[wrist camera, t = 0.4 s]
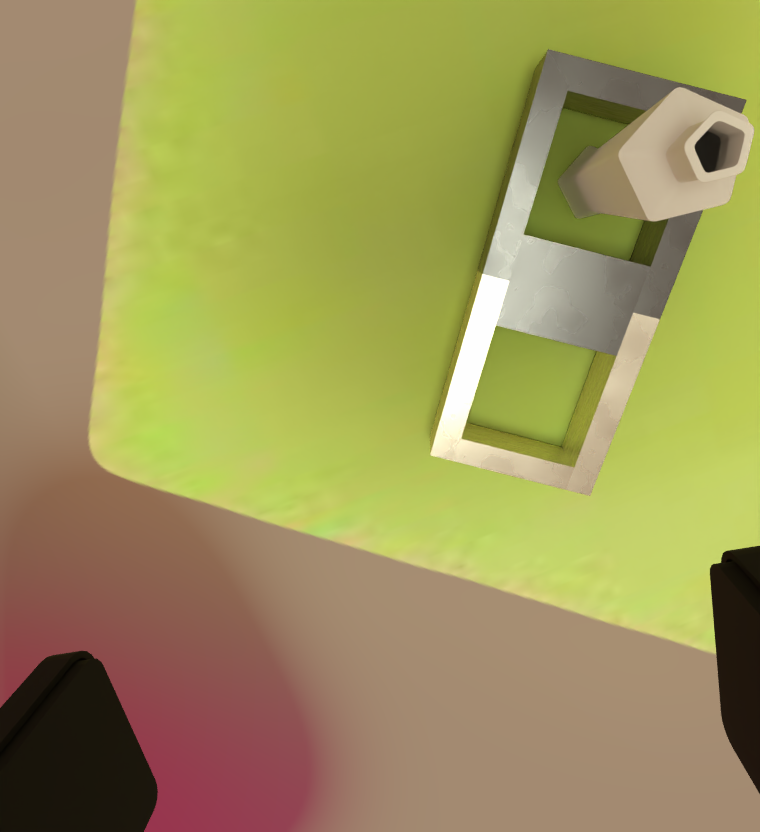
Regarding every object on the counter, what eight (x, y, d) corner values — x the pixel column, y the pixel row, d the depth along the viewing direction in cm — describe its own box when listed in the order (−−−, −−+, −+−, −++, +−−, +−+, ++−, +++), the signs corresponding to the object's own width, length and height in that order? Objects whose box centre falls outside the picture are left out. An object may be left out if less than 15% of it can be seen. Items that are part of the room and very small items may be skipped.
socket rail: (535, 68, 32) (548, 49, 28) (713, 113, 32) (746, 99, 28) (429, 435, 38) (430, 455, 35) (575, 472, 38) (589, 495, 35)
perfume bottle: (538, 208, 34) (619, 192, 20) (574, 131, 32) (689, 53, 18) (609, 239, 34) (741, 246, 20) (648, 164, 33) (819, 111, 18)
